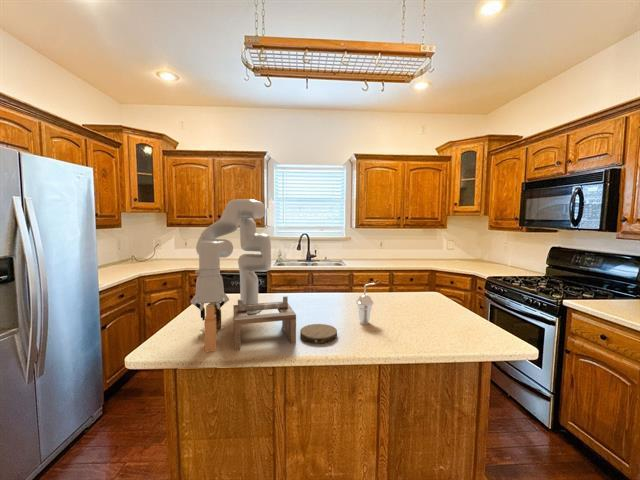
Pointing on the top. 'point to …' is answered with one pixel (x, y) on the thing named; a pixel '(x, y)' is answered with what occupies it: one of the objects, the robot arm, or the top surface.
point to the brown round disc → (318, 334)
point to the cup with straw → (364, 306)
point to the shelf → (265, 317)
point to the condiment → (218, 321)
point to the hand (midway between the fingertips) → (210, 318)
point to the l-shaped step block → (210, 328)
